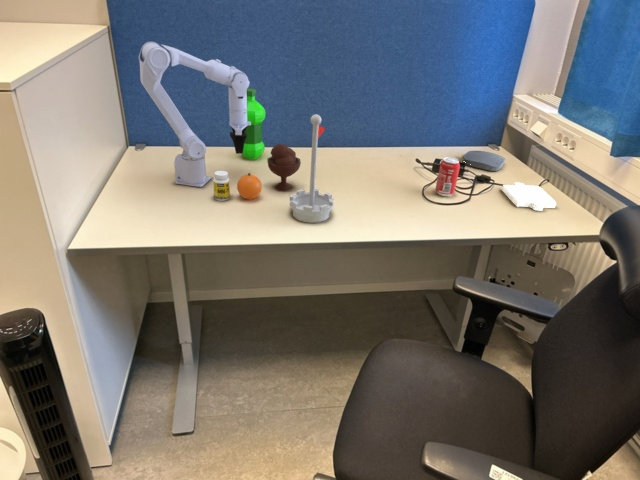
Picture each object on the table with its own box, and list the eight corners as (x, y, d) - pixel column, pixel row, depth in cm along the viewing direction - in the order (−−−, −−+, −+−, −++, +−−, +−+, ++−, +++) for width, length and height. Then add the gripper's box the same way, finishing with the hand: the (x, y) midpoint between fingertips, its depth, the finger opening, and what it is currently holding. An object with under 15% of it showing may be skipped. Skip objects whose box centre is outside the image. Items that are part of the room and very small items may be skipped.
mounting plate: (499, 187, 167) (500, 182, 166) (534, 188, 168) (535, 183, 167) (519, 210, 152) (521, 204, 151) (558, 211, 152) (560, 206, 151)
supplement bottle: (217, 202, 144) (215, 176, 140) (212, 196, 148) (210, 171, 143) (232, 199, 146) (231, 174, 142) (227, 193, 150) (226, 169, 145)
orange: (234, 200, 145) (233, 176, 141) (242, 191, 152) (241, 167, 148) (257, 204, 144) (257, 180, 140) (264, 194, 151) (264, 170, 147)
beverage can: (455, 192, 161) (462, 159, 155) (451, 198, 156) (459, 165, 150) (437, 188, 163) (443, 155, 157) (432, 194, 158) (439, 161, 152)
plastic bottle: (232, 155, 179) (229, 88, 166) (255, 150, 185) (254, 85, 172) (247, 164, 172) (246, 94, 160) (270, 158, 179) (270, 91, 166)
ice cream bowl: (295, 196, 151) (297, 151, 143) (262, 191, 153) (262, 147, 145) (303, 183, 160) (305, 140, 152) (272, 179, 162) (272, 136, 154)
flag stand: (317, 228, 133) (324, 124, 118) (280, 215, 139) (282, 114, 124) (340, 212, 143) (349, 114, 128) (304, 200, 148) (309, 105, 133)
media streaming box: (496, 173, 178) (498, 166, 177) (459, 164, 185) (461, 157, 183) (505, 162, 189) (507, 155, 188) (470, 154, 196) (471, 147, 194)
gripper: (251, 115, 146) (251, 157, 153) (250, 103, 158) (250, 142, 165) (227, 115, 145) (229, 156, 152) (228, 102, 157) (230, 142, 164)
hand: (239, 149), depth 158 cm, fingers open, 7 cm apart
